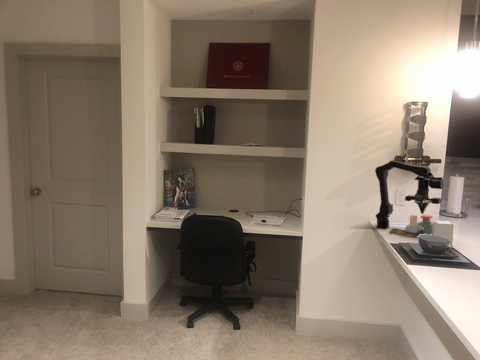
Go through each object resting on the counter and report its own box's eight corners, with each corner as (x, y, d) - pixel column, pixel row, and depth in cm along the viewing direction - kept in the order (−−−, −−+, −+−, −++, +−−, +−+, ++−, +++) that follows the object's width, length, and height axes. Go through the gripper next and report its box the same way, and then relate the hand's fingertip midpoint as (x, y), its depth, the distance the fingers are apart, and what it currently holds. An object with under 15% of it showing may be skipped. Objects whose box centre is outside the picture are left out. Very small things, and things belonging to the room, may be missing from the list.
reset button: (420, 226, 223) (420, 216, 222) (423, 224, 226) (423, 214, 225) (429, 227, 219) (429, 217, 218) (432, 225, 223) (432, 215, 222)
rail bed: (389, 233, 223) (389, 226, 223) (393, 230, 228) (394, 224, 228) (420, 238, 211) (421, 231, 210) (424, 235, 216) (425, 229, 215)
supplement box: (452, 247, 193) (453, 224, 191) (437, 247, 194) (438, 223, 193) (447, 243, 200) (448, 220, 198) (433, 243, 201) (434, 220, 200)
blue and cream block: (405, 231, 216) (406, 216, 215) (409, 228, 221) (410, 214, 220) (416, 232, 212) (417, 217, 211) (420, 230, 217) (421, 215, 216)
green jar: (416, 232, 223) (417, 222, 222) (420, 230, 228) (421, 220, 228) (431, 234, 218) (431, 224, 217) (434, 232, 223) (435, 222, 222)
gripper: (401, 188, 218) (400, 213, 220) (435, 190, 205) (434, 218, 207) (409, 186, 226) (408, 210, 228) (442, 188, 213) (441, 215, 215)
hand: (422, 213), depth 219 cm, fingers closed
